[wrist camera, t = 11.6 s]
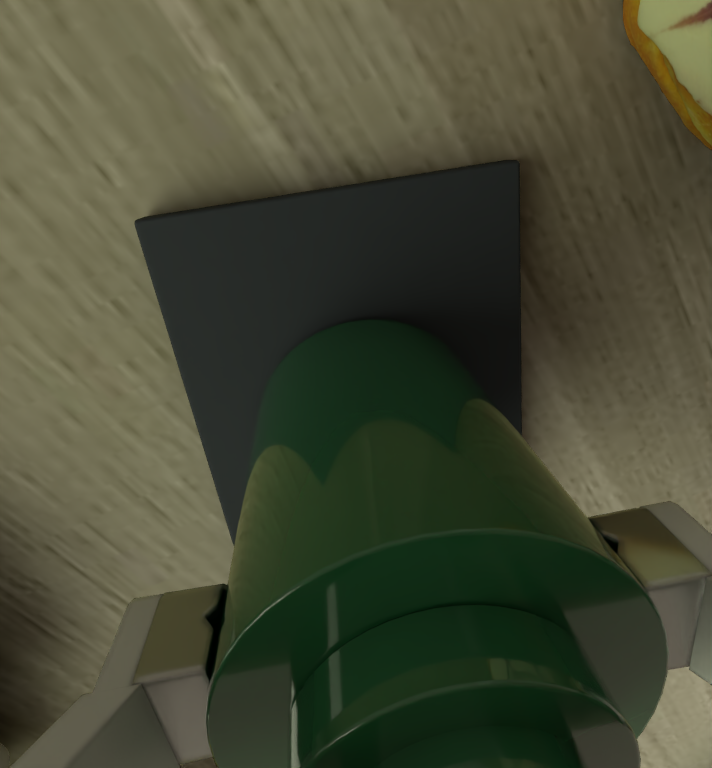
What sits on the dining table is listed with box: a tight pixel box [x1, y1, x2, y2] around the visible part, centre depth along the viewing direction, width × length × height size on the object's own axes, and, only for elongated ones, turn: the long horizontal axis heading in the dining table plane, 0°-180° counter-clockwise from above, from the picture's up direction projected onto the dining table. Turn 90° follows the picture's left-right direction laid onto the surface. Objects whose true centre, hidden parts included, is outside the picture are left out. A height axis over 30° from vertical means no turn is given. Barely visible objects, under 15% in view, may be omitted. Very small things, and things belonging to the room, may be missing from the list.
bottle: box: [205, 319, 669, 768], centre depth 9 cm, size 6×6×12 cm
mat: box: [135, 160, 522, 545], centre depth 14 cm, size 12×9×1 cm
